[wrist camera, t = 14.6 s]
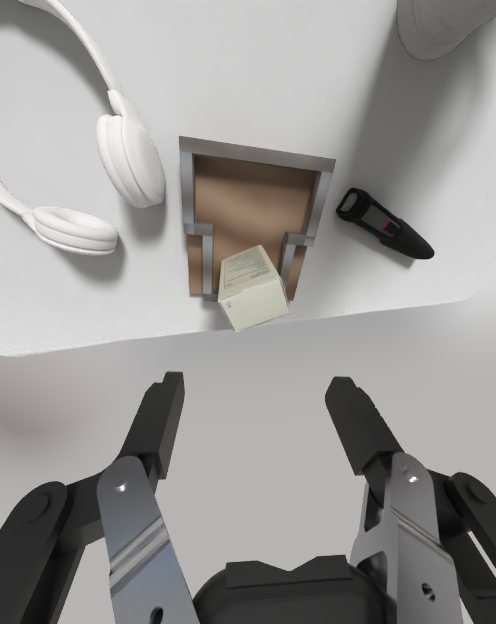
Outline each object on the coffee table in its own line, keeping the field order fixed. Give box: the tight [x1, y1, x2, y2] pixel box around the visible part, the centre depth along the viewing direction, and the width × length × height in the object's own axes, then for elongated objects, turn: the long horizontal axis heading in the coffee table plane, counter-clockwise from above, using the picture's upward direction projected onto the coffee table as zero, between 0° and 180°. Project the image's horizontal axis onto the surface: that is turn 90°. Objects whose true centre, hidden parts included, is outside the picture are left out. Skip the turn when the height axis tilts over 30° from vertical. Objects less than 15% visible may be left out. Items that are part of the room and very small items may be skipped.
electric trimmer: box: [336, 188, 435, 259], centre depth 28 cm, size 4×16×3 cm, turn 63°
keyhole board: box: [179, 136, 336, 302], centre depth 27 cm, size 18×16×3 cm
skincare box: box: [218, 245, 290, 333], centre depth 24 cm, size 6×4×12 cm
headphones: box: [0, 0, 165, 256], centre depth 20 cm, size 7×18×20 cm
